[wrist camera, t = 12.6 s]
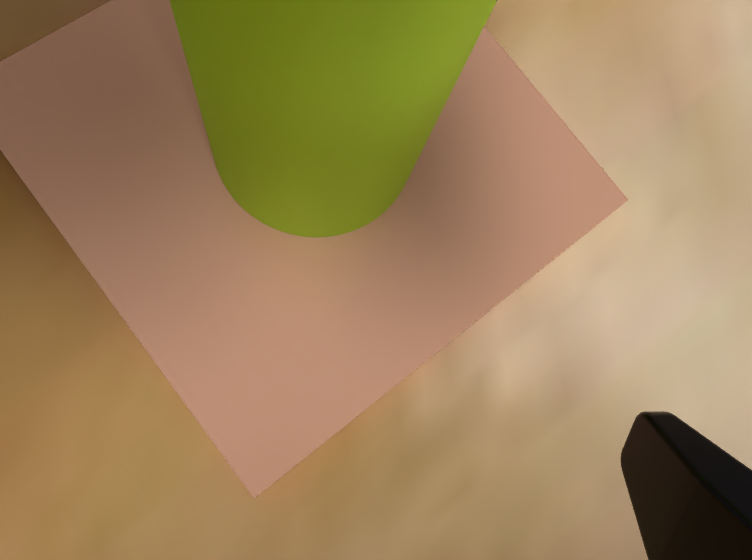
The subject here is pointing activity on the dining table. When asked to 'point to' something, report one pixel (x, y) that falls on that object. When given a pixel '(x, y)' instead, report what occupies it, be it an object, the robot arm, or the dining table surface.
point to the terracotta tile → (279, 249)
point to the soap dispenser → (323, 99)
